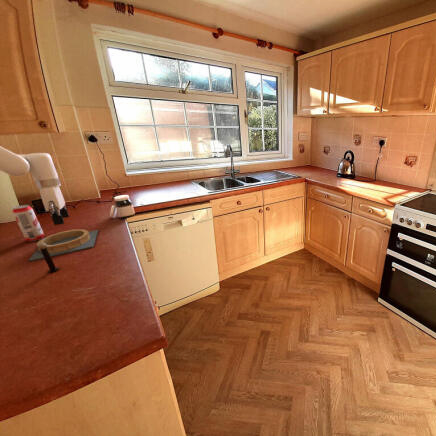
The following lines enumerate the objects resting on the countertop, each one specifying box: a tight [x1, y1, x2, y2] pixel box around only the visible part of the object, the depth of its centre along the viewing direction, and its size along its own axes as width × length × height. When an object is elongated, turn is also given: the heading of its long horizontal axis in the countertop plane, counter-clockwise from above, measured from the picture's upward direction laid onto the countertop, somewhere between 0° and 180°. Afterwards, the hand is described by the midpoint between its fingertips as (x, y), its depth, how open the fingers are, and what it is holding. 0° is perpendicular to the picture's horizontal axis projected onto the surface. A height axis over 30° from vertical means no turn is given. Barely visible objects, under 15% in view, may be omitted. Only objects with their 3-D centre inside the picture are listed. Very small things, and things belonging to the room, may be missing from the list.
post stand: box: [37, 243, 59, 274], centre depth 86 cm, size 3×3×11 cm
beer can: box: [12, 204, 45, 243], centre depth 110 cm, size 6×6×16 cm
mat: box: [28, 229, 99, 262], centre depth 107 cm, size 20×20×1 cm
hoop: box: [36, 228, 90, 253], centre depth 106 cm, size 17×17×3 cm
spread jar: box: [109, 194, 136, 220], centre depth 135 cm, size 12×11×12 cm
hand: (62, 220), depth 109 cm, fingers open, 9 cm apart
